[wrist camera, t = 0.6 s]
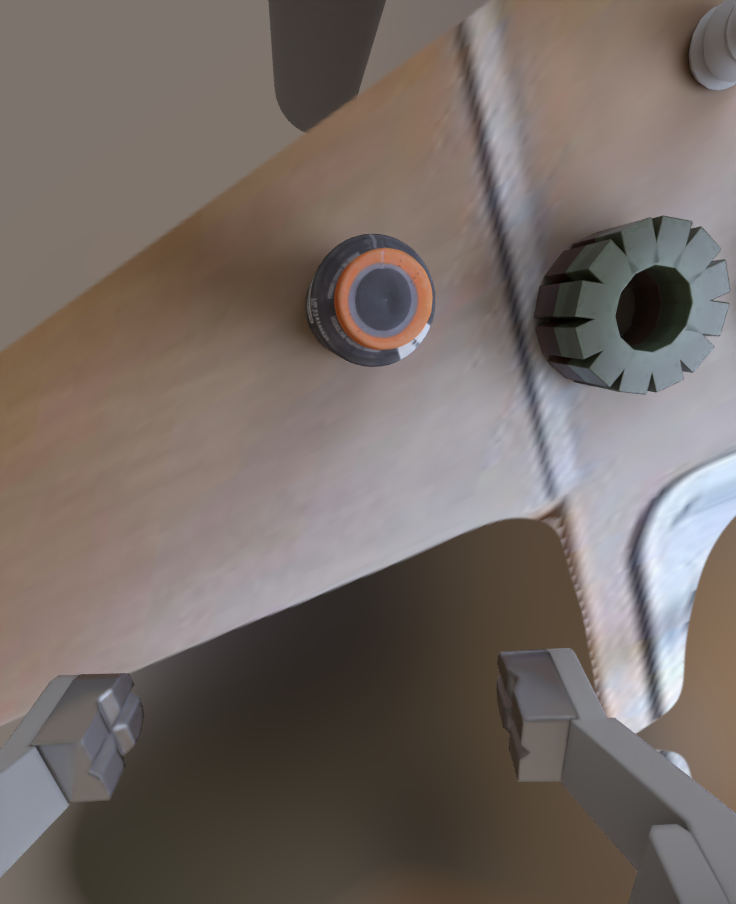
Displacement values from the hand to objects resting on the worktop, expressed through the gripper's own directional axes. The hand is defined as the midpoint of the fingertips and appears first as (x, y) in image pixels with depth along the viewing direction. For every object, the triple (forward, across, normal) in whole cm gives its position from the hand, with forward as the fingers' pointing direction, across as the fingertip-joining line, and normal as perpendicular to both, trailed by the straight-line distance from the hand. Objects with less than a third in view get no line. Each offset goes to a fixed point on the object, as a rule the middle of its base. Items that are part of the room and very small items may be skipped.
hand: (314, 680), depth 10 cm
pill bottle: (+24, 0, -5) cm, 24 cm away
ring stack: (+26, -18, -3) cm, 32 cm away
